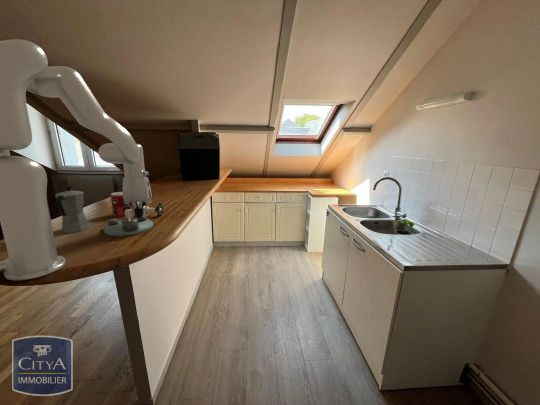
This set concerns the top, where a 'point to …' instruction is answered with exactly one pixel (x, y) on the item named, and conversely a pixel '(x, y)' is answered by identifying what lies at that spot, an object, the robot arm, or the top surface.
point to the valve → (159, 208)
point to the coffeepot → (72, 210)
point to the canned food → (119, 204)
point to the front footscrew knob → (129, 221)
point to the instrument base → (116, 230)
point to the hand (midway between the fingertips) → (139, 216)
